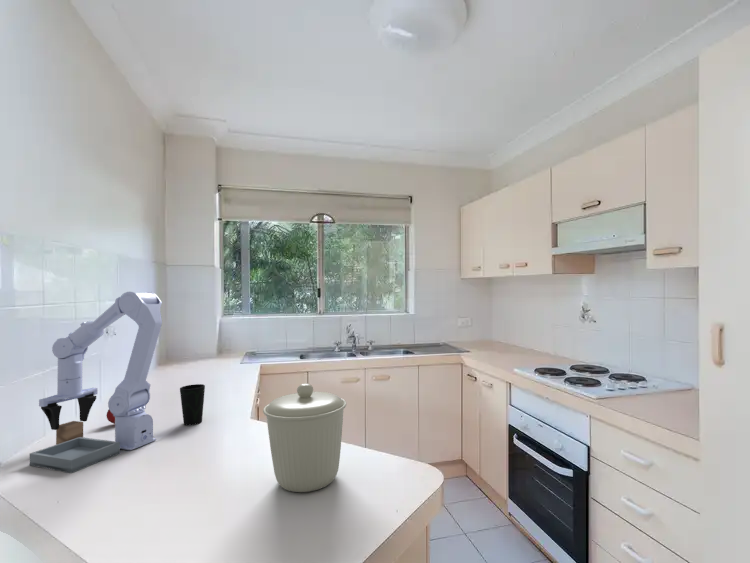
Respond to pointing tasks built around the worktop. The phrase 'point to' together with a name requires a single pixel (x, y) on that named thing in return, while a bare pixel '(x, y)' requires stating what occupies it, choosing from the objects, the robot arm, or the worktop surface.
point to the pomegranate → (110, 417)
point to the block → (69, 431)
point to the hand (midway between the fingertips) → (69, 425)
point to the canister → (305, 438)
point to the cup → (192, 403)
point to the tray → (74, 454)
